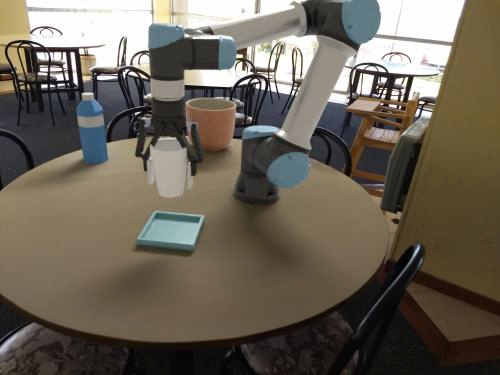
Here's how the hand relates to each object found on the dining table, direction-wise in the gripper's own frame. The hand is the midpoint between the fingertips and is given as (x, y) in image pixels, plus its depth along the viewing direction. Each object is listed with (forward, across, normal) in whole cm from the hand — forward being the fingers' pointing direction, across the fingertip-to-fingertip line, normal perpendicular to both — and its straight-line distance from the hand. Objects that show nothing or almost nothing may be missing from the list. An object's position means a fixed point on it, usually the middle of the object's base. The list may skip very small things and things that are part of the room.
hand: (170, 184), depth 96 cm
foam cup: (+2, 0, 0) cm, 2 cm away
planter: (+15, +2, -68) cm, 70 cm away
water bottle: (+15, +42, -44) cm, 63 cm away
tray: (+15, 0, 0) cm, 15 cm away
